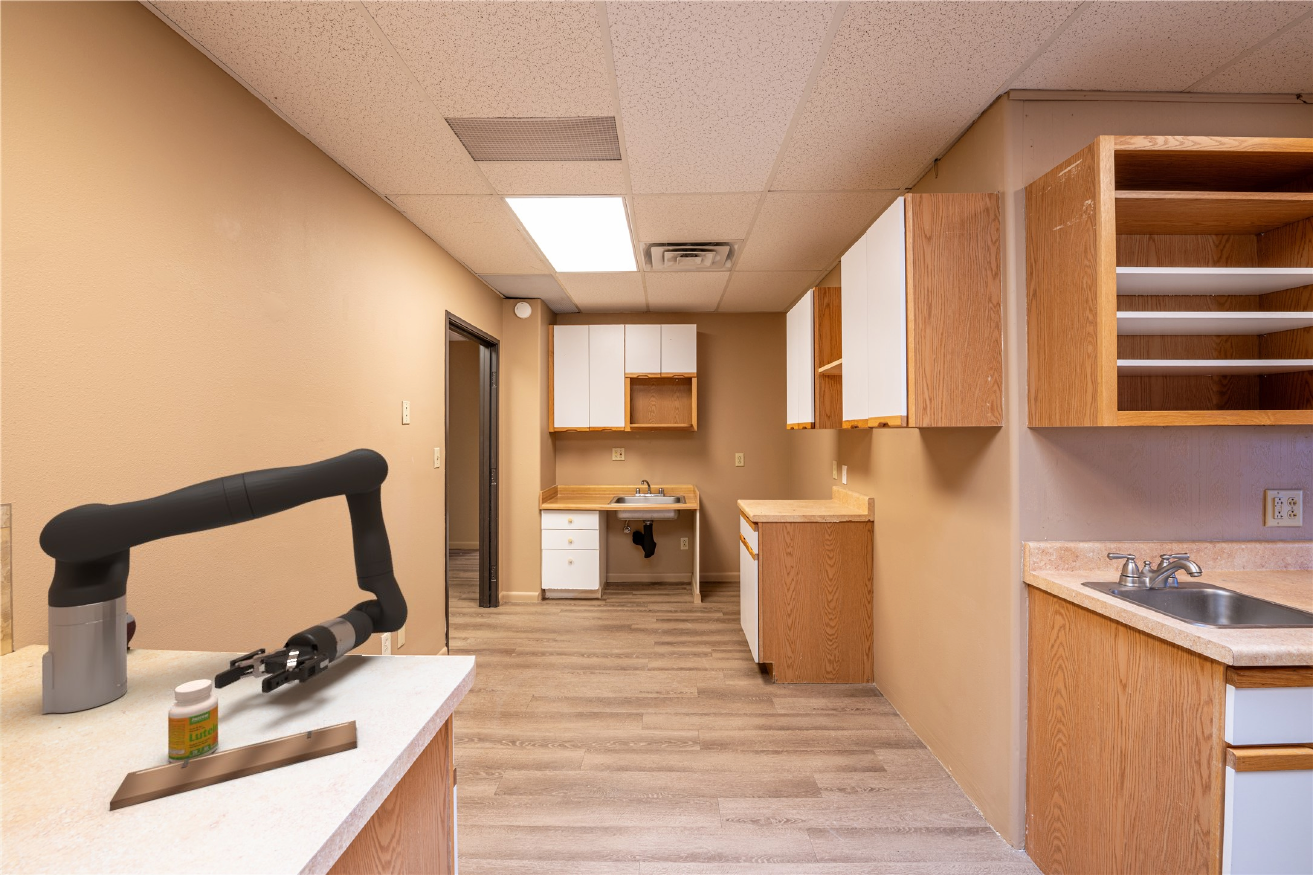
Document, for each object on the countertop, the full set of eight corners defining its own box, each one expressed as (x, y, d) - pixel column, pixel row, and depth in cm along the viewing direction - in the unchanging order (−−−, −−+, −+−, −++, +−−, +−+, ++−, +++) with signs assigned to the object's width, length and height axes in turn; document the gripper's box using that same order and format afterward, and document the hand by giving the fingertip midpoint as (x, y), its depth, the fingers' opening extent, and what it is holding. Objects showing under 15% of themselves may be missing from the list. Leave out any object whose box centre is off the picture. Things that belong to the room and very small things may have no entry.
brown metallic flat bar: (109, 810, 65) (109, 801, 65) (128, 780, 71) (128, 772, 71) (356, 747, 78) (356, 739, 78) (355, 726, 84) (355, 719, 84)
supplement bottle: (189, 767, 74) (188, 696, 73) (157, 762, 75) (157, 692, 75) (227, 745, 79) (227, 678, 79) (198, 741, 80) (197, 675, 80)
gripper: (287, 622, 101) (200, 657, 85) (355, 626, 98) (279, 663, 82) (287, 662, 101) (200, 705, 85) (355, 668, 99) (280, 713, 83)
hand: (239, 684), depth 84 cm, fingers open, 8 cm apart
